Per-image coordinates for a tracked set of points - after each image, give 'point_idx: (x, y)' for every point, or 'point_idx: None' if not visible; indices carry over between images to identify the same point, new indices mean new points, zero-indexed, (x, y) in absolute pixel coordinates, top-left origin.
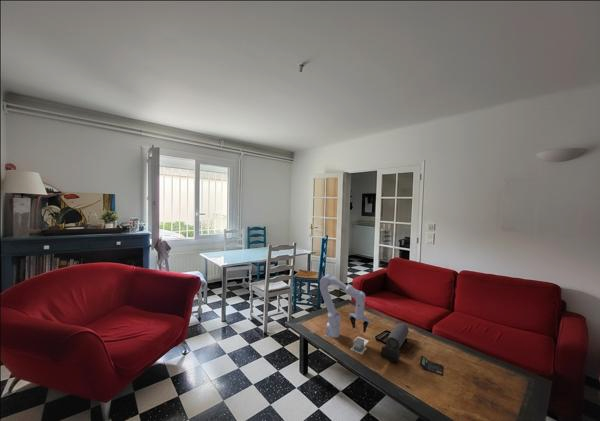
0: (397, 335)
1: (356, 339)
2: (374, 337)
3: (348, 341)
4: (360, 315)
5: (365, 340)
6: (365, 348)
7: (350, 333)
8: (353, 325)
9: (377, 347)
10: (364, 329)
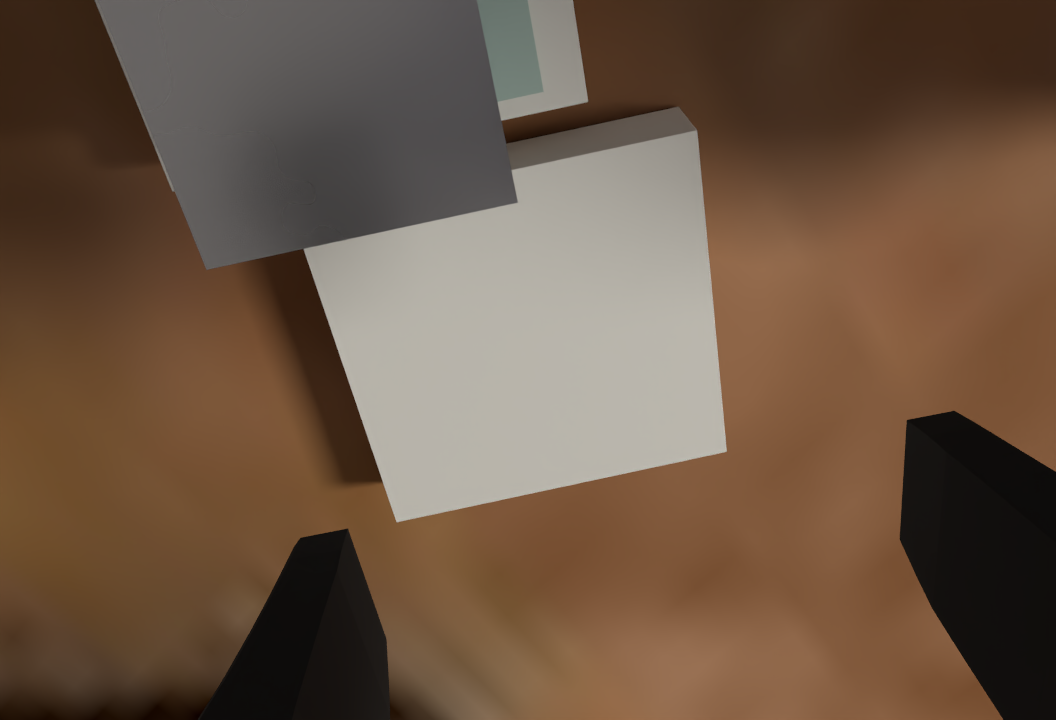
0: None
1: (455, 12)
2: (442, 704)
3: (854, 97)
4: None
5: (462, 457)
6: None
7: None
8: (1013, 528)
9: (119, 486)
10: (236, 675)
